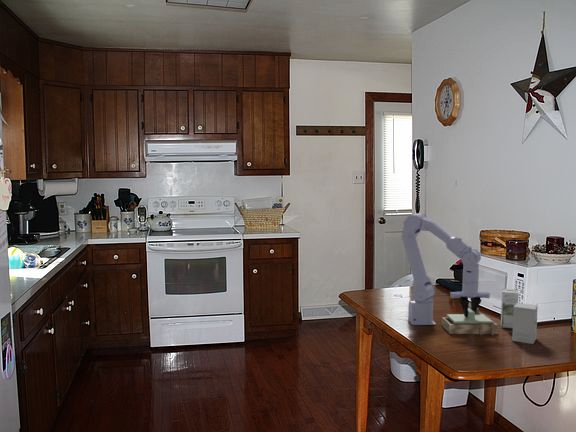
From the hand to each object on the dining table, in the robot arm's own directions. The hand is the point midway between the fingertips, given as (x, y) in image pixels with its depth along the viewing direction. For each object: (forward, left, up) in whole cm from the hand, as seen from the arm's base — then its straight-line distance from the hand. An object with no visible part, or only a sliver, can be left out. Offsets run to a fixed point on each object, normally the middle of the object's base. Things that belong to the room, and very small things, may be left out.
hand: (469, 316), depth 206 cm
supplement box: (+16, -12, -6) cm, 21 cm away
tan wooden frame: (0, 0, -5) cm, 5 cm away
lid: (0, 0, -1) cm, 1 cm away
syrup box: (+17, +4, -6) cm, 18 cm away
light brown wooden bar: (+5, +12, -1) cm, 12 cm away
